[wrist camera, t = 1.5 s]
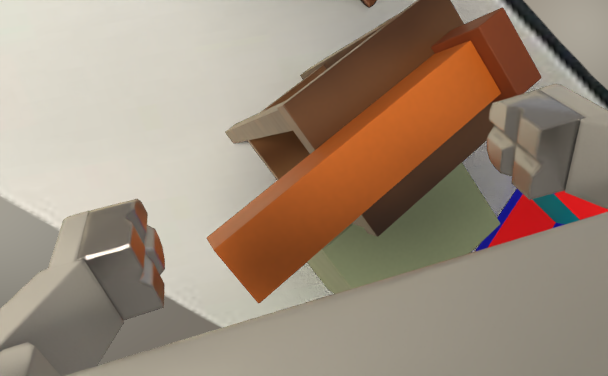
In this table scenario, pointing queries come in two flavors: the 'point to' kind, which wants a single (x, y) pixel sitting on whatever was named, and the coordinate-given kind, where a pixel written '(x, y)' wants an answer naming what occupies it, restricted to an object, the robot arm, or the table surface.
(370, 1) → the sunglasses case
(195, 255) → the table surface
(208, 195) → the table surface
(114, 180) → the table surface
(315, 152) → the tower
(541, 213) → the building blocks toy
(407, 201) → the stand
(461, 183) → the sage green box
